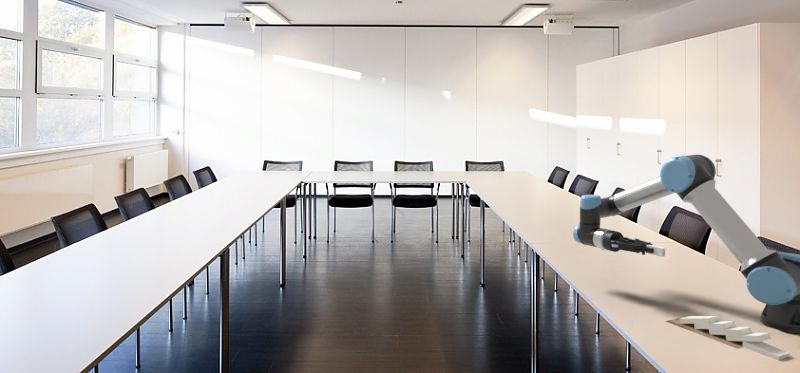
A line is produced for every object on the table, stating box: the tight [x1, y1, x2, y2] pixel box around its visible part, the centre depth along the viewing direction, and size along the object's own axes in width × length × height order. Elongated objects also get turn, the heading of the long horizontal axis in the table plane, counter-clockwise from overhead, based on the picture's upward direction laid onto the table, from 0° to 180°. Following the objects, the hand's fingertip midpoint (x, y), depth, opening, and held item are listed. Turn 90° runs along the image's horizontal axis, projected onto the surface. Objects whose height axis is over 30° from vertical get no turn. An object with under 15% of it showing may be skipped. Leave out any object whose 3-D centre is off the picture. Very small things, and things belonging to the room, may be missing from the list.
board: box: [665, 316, 743, 350], centre depth 178 cm, size 10×24×1 cm, turn 27°
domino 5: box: [742, 341, 790, 361], centre depth 163 cm, size 2×5×10 cm
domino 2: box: [694, 320, 737, 329], centre depth 177 cm, size 2×5×10 cm
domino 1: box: [678, 315, 720, 324], centre depth 181 cm, size 2×5×10 cm
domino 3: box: [709, 326, 753, 336], centre depth 172 cm, size 2×5×10 cm
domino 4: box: [726, 332, 772, 342], centre depth 168 cm, size 2×5×10 cm
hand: (663, 252), depth 196 cm, fingers closed
